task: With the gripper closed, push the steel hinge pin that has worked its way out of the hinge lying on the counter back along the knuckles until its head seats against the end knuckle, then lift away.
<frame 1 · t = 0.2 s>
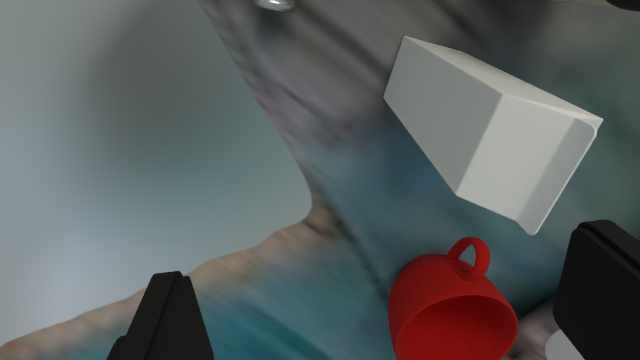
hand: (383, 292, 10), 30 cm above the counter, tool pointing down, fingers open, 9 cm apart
ceramic cup: (430, 261, 49), on the counter
milk: (421, 74, 38), on the counter
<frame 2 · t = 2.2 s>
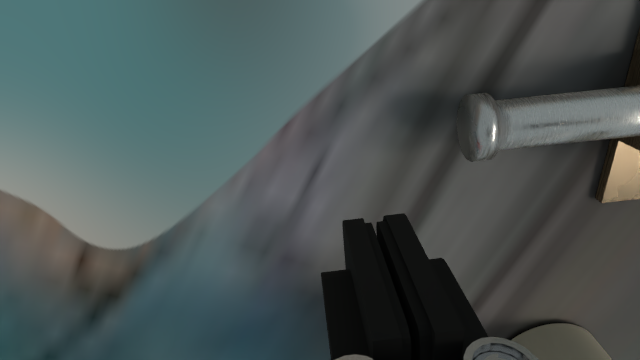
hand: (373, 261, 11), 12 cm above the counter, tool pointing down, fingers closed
travel mug: (539, 355, 31), on the counter
pin: (631, 111, 19), point 3 cm above the counter, slide at 8.0 cm
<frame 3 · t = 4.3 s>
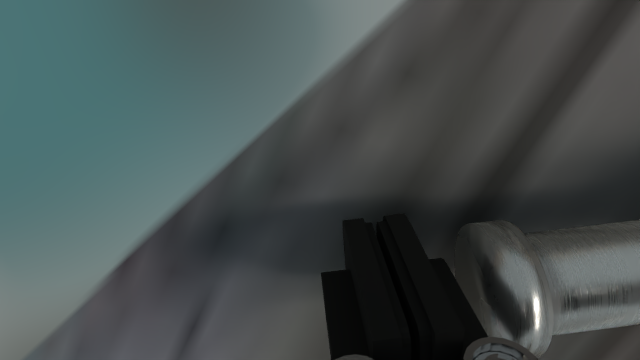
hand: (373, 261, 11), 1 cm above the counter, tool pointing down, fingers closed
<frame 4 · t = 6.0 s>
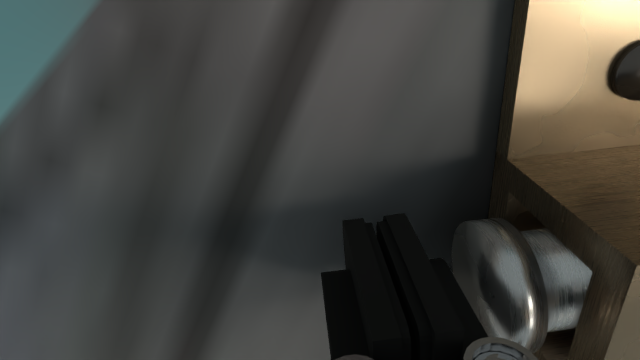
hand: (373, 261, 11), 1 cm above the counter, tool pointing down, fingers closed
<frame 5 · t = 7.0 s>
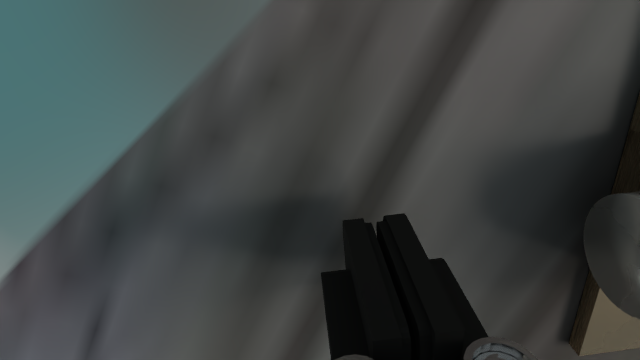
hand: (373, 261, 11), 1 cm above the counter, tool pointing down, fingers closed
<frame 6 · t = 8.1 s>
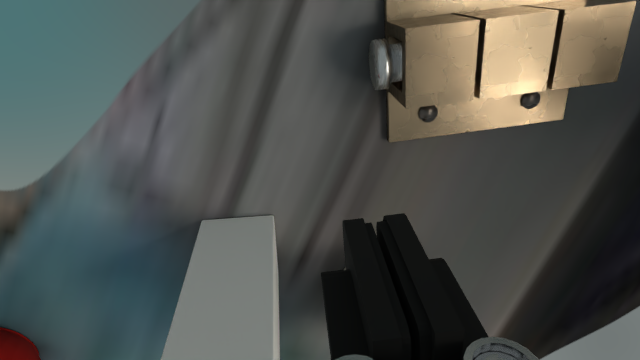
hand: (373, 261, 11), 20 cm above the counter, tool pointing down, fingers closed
ceramic cup: (23, 347, 37), on the counter
hinge: (480, 44, 29), on the counter
pin: (490, 51, 27), point 3 cm above the counter, slide at 0.1 cm
milk: (242, 244, 35), on the counter
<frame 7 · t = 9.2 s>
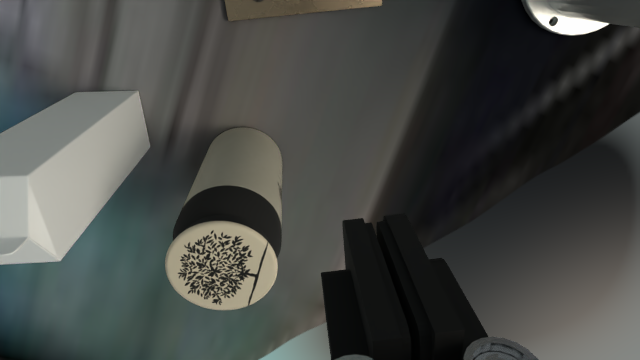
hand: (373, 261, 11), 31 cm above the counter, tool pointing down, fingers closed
travel mug: (245, 160, 43), on the counter
milk: (115, 119, 40), on the counter
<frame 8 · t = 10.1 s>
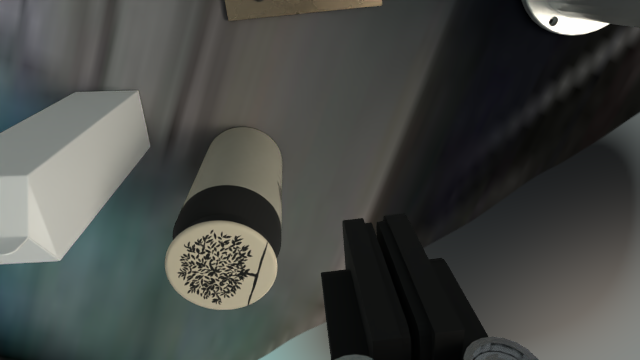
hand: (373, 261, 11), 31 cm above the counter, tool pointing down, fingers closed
travel mug: (245, 160, 43), on the counter
milk: (115, 119, 40), on the counter
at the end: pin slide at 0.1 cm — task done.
